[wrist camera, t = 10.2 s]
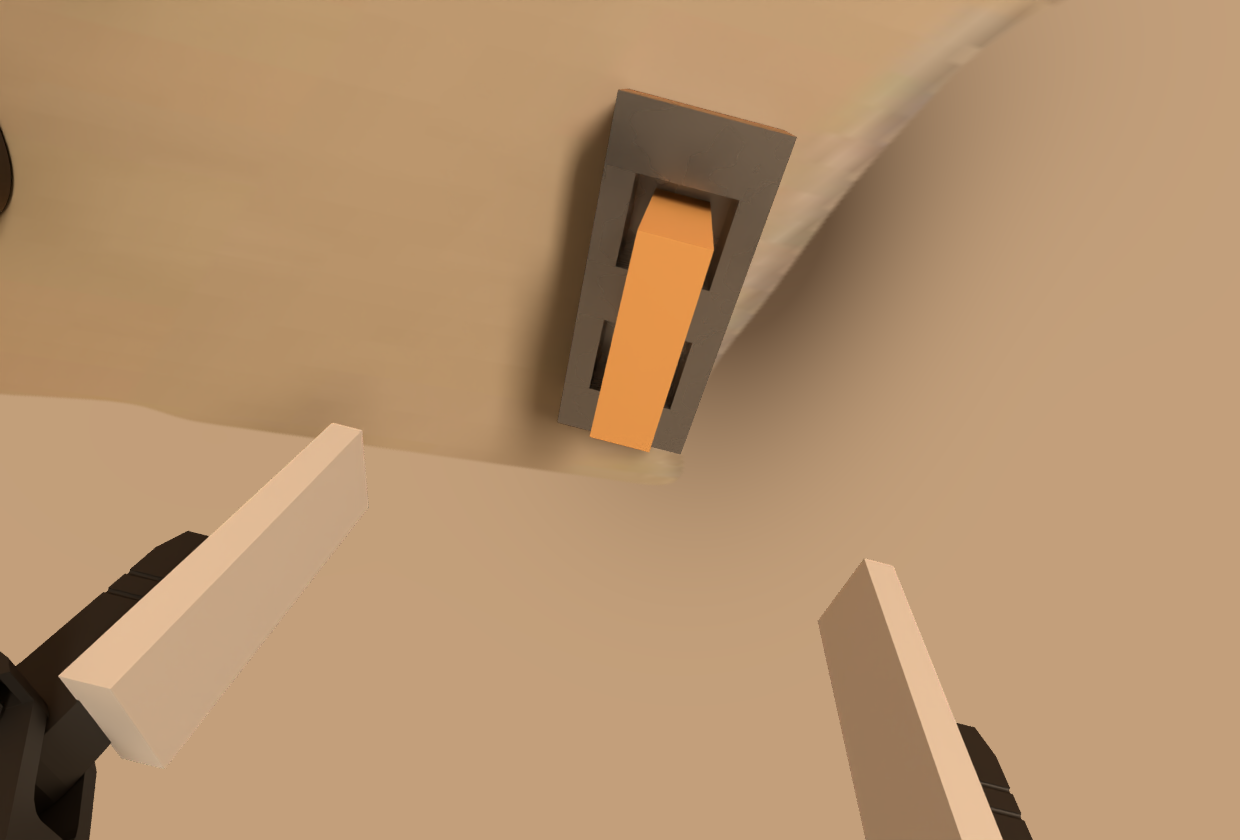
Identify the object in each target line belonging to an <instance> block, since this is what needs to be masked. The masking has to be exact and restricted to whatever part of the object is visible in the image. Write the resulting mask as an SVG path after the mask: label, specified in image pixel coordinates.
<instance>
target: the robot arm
mask: <svg viewBox="0 0 1240 840" xmlns="http://www.w3.org/2000/svg"><path fill="white" fill-rule="evenodd" d="M10 187H11V172H10V164H9V158H8V154H7V150H6V146H5V143H4V140H3V137H2V134H1V132H0V213H1V211H2V210H3V208H4V207H5V205H6V203H7V200H8V197H9V193H10ZM368 508H369V504H368V493H367V481H366V470H365V458H364V447H363V436H362V430H359V429H355V428H351V427H348V426H344V425H340V424H336V423H331V424H330V425H329V426H328V427H327V428H326V429H325V430H324V431H323V432H322V433H321V434H319V435H318V436H317V437H316V438H315V439H314V440H313V441H312V442H311V443H310V444H309V445H308V446H307V447H306V448H304V449H303V450H302V451H301V452H300V453H299V454H298V455H297V456H296V457H295V458H294V459H292V460H291V461H290V462H289V463H288V464H287V465H286V466H285V467H284V468H283V469H282V470H281V471H280V472H279V473H277V474H276V475H275V476H274V477H273V478H272V479H271V480H270V481H269V482H268V483H266V484H265V485H264V486H263V487H262V488H261V489H260V490H259V491H258V492H257V493H256V494H255V495H254V496H252V497H251V498H250V499H249V500H248V501H247V502H246V503H245V504H244V505H243V506H242V507H241V508H239V509H238V510H237V511H236V512H235V513H234V514H233V515H232V516H231V517H230V518H229V519H228V520H227V521H225V522H224V523H223V524H222V525H221V526H220V527H219V528H218V529H217V530H216V531H215V532H214V533H212V534H211V535H210V536H206V535H202V534H198V533H194V532H190V531H187V532H185V533H183V534H181V535H179V536H177V537H175V538H173V539H171V540H169V541H167V542H165V543H163V544H161V545H159V546H157V547H155V548H154V549H153V550H152V551H151V552H150V553H148V554H147V555H146V556H145V557H144V558H143V559H142V560H140V561H139V562H138V563H137V564H136V565H134V566H133V567H132V568H131V569H130V572H129V573H128V574H124V575H123V576H122V577H120V579H118V580H117V581H116V582H114V583H113V584H112V585H111V586H110V587H109V589H108V591H107V592H105V593H104V592H103V593H102V594H101V595H99V596H98V597H97V598H96V599H95V600H93V601H92V602H91V603H90V604H89V605H88V606H86V607H85V608H84V609H83V610H82V611H81V612H79V613H78V614H77V615H76V616H75V617H74V618H72V619H71V620H70V621H69V622H68V623H66V624H65V625H64V626H63V627H62V628H61V629H59V630H58V631H57V632H56V633H55V634H54V635H52V636H51V637H50V638H49V639H48V640H47V641H45V642H44V643H43V644H42V645H41V646H40V647H38V648H37V649H36V650H35V651H34V652H32V653H31V654H30V655H29V656H28V657H27V658H25V659H24V660H23V661H22V662H21V663H19V664H18V665H17V666H15V665H14V664H13V663H12V662H11V661H10V660H9V658H8V657H6V656H5V655H4V654H3V653H1V652H0V840H89V836H90V828H91V819H92V809H93V800H94V791H95V781H96V773H97V772H96V766H95V760H96V759H97V758H98V757H99V756H100V755H101V754H102V753H103V752H104V750H105V749H106V748H107V747H108V746H109V745H110V744H111V745H112V747H113V748H114V749H115V750H116V752H117V753H118V754H119V756H120V757H121V758H122V759H126V760H130V761H134V762H139V763H143V764H146V765H151V766H155V767H159V768H163V769H165V768H166V767H167V766H168V764H169V763H170V762H171V760H172V759H173V758H174V757H175V755H176V754H177V753H178V751H179V750H180V749H181V748H182V746H183V745H184V744H185V742H186V741H187V740H188V739H189V737H190V736H191V735H192V733H193V732H194V731H195V730H196V728H197V727H198V725H200V723H201V722H202V721H203V719H204V718H205V717H206V716H207V714H208V713H209V712H210V710H211V709H212V708H213V706H214V705H215V704H216V703H217V701H218V700H219V699H220V698H221V696H222V695H223V694H224V692H225V691H226V690H227V689H228V687H229V686H230V685H231V683H232V682H233V681H234V680H235V678H236V677H237V676H238V675H239V673H240V672H241V671H242V669H243V668H244V667H245V665H246V664H247V663H248V662H249V660H250V659H251V658H252V656H253V655H254V654H255V653H256V651H257V650H258V649H259V648H260V646H261V645H262V644H263V642H264V641H265V640H266V638H267V637H268V636H269V635H270V634H271V632H272V631H273V630H274V628H275V627H276V626H277V625H278V623H279V622H280V621H281V619H282V618H283V617H284V616H285V614H286V613H287V612H288V610H289V609H290V608H291V607H292V605H293V604H294V603H295V601H296V600H297V599H298V598H299V596H300V595H301V594H302V592H303V591H304V590H305V589H306V587H307V586H308V585H309V583H310V582H311V581H312V580H313V578H314V577H315V576H316V574H317V573H318V572H319V571H320V569H321V568H322V567H323V566H324V564H325V563H326V562H327V560H328V559H329V558H330V557H331V555H332V554H333V553H334V551H335V550H336V549H337V548H338V546H339V545H340V544H341V542H342V541H343V540H344V538H345V537H346V536H347V535H348V533H349V532H350V531H351V530H352V528H353V527H354V526H355V524H356V523H357V522H358V521H359V519H360V518H361V517H362V515H363V514H364V513H365V511H366V510H367V509H368ZM818 624H819V629H820V634H821V638H822V643H823V647H824V652H825V656H826V661H827V665H828V670H829V675H830V679H831V684H832V688H833V693H834V697H835V702H836V707H837V711H838V716H839V720H840V725H841V729H842V734H843V739H844V743H845V747H846V752H847V757H848V761H849V766H850V771H851V775H852V779H853V784H854V789H855V793H856V798H857V802H858V807H859V811H860V816H861V821H862V825H863V830H864V834H865V839H866V840H1033V839H1032V837H1031V835H1030V833H1029V830H1028V828H1027V826H1026V824H1025V821H1023V820H1022V819H1021V817H1020V816H1021V812H1020V810H1019V808H1018V806H1017V803H1016V801H1015V798H1014V796H1013V794H1010V792H1009V789H1010V787H1009V785H1008V783H1007V780H1006V778H1005V776H1004V773H1003V771H1002V769H1001V767H1000V765H999V762H998V760H997V758H996V756H995V755H994V753H993V752H992V750H991V749H990V748H989V746H988V745H987V744H986V742H985V741H984V740H983V738H982V737H981V735H980V734H979V733H978V731H977V730H976V729H975V727H971V726H967V725H963V724H958V723H956V722H955V719H954V717H953V714H952V711H951V709H950V707H949V704H948V701H947V699H946V696H945V694H944V691H943V689H942V686H941V684H940V681H939V679H938V676H937V674H936V671H935V669H934V667H933V664H932V661H931V659H930V656H929V654H928V652H927V649H926V647H925V644H924V642H923V639H922V636H921V634H920V632H919V629H918V627H917V624H916V621H915V619H914V617H913V614H912V611H911V609H910V607H909V604H908V602H907V599H906V597H905V594H904V592H903V589H902V587H901V584H900V582H899V579H898V577H897V574H896V572H895V569H894V567H893V566H892V565H888V564H884V563H881V562H876V561H873V560H869V559H863V561H862V562H861V563H860V565H859V566H858V568H857V569H856V570H855V572H854V573H853V574H852V576H851V577H850V578H849V580H848V581H847V583H846V584H845V585H844V586H843V588H842V589H841V591H840V592H839V593H838V595H837V596H836V597H835V599H834V600H833V601H832V603H831V604H830V605H829V607H828V608H827V609H826V611H825V612H824V614H823V615H822V616H821V617H820V619H819V620H818Z"/></svg>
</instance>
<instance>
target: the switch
mask: <svg viewBox="0 0 1240 840" xmlns="http://www.w3.org/2000/svg"><path fill="white" fill-rule="evenodd" d="M796 138H797V137H796V136H794V135H792V134H790V133H788V132H787V131H785V130H781V129H778V128H774V127H770V126H766V125H763V124H759V123H755V122H751V121H748V120H744V119H740V118H736V117H733V116H729V115H725V114H721V113H718V112H714V111H710V110H706V109H703V108H699V107H695V106H691V105H688V104H684V103H680V102H676V101H673V100H669V99H665V98H661V97H658V96H654V95H650V94H646V93H643V92H639V91H635V90H631V89H619V90H618V93H617V99H616V104H615V110H614V115H613V121H612V126H611V132H610V137H609V143H608V148H607V154H606V159H605V164H604V170H603V175H602V181H601V186H600V192H599V197H598V203H597V208H596V214H595V219H594V225H593V230H592V236H591V241H590V247H589V252H588V258H587V263H586V269H585V274H584V280H583V285H582V290H581V296H580V301H579V307H578V312H577V318H576V323H575V329H574V334H573V340H572V345H571V351H570V356H569V362H568V367H567V373H566V378H565V384H564V389H563V395H562V400H561V406H560V411H559V416H558V423H562V424H566V425H570V426H573V427H577V428H581V429H585V430H589V431H591V429H592V424H593V420H594V416H595V411H596V407H597V403H598V399H599V394H600V390H601V386H602V381H603V377H604V373H605V368H606V364H607V360H608V355H609V351H610V347H611V342H612V338H613V334H614V329H615V325H616V321H617V316H618V312H619V308H620V303H621V299H622V295H623V290H624V286H625V282H626V277H627V273H628V269H629V264H630V260H631V256H632V251H633V247H634V243H635V238H636V234H637V230H638V228H639V225H640V223H641V221H642V219H643V216H644V214H645V212H646V210H647V207H648V205H649V203H650V200H651V198H652V196H653V194H654V191H655V189H656V188H658V189H662V190H665V191H669V192H673V193H677V194H680V195H684V196H688V197H692V198H696V199H699V200H703V201H707V202H710V204H711V217H712V231H713V245H714V252H713V255H712V258H711V261H710V264H709V267H708V270H707V273H706V277H705V280H704V283H703V286H702V289H701V292H700V295H699V298H698V301H697V305H696V308H695V311H694V314H693V317H692V320H691V323H690V326H689V330H688V333H687V336H686V339H685V342H684V345H683V348H682V351H681V354H680V358H679V361H678V364H677V367H676V370H675V373H674V376H673V379H672V382H671V386H670V389H669V392H668V395H667V398H666V401H665V404H664V407H663V410H662V414H661V417H660V420H659V423H658V426H657V429H656V432H655V435H654V439H653V442H652V445H651V447H654V448H658V449H662V450H666V451H670V452H674V453H678V454H681V451H682V449H683V446H684V443H685V441H686V438H687V435H688V432H689V430H690V427H691V424H692V421H693V419H694V416H695V413H696V411H697V408H698V405H699V402H700V400H701V397H702V394H703V392H704V389H705V386H706V383H707V381H708V378H709V375H710V372H711V370H712V367H713V364H714V362H715V359H716V356H717V353H718V351H719V348H720V345H721V342H722V340H723V337H724V334H725V332H726V329H727V326H728V323H729V321H730V318H731V315H732V313H733V310H734V307H735V304H736V302H737V299H738V296H739V293H740V291H741V288H742V285H743V283H744V280H745V277H746V274H747V272H748V269H749V266H750V263H751V261H752V258H753V255H754V253H755V250H756V247H757V244H758V242H759V239H760V236H761V233H762V231H763V228H764V225H765V223H766V220H767V217H768V214H769V212H770V209H771V206H772V204H773V201H774V198H775V195H776V193H777V190H778V187H779V184H780V182H781V179H782V176H783V174H784V171H785V168H786V165H787V163H788V160H789V157H790V154H791V152H792V149H793V146H794V144H795V141H796Z"/></svg>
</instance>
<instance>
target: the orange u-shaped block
mask: <svg viewBox="0 0 1240 840" xmlns="http://www.w3.org/2000/svg"><path fill="white" fill-rule="evenodd" d="M713 252H714V245H713V231H712V217H711V204H710V202H707V201H703V200H699V199H696V198H692V197H688V196H684V195H680V194H677V193H673V192H669V191H665V190H662V189H658V188H656V189H655V191H654V194H653V196H652V198H651V200H650V203H649V205H648V207H647V210H646V212H645V214H644V216H643V219H642V221H641V223H640V225H639V228H638V230H637V234H636V238H635V243H634V247H633V251H632V256H631V260H630V264H629V269H628V273H627V277H626V282H625V286H624V290H623V295H622V299H621V303H620V308H619V312H618V316H617V321H616V325H615V329H614V334H613V338H612V342H611V347H610V351H609V355H608V360H607V364H606V368H605V373H604V377H603V381H602V386H601V390H600V394H599V399H598V403H597V407H596V411H595V416H594V420H593V424H592V429H591V433H590V437H592V438H596V439H600V440H604V441H608V442H612V443H616V444H619V445H623V446H627V447H631V448H635V449H639V450H643V451H646V452H649V451H650V448H651V445H652V442H653V439H654V435H655V432H656V429H657V426H658V423H659V420H660V417H661V414H662V410H663V407H664V404H665V401H666V398H667V395H668V392H669V389H670V386H671V382H672V379H673V376H674V373H675V370H676V367H677V364H678V361H679V358H680V354H681V351H682V348H683V345H684V342H685V339H686V336H687V333H688V330H689V326H690V323H691V320H692V317H693V314H694V311H695V308H696V305H697V301H698V298H699V295H700V292H701V289H702V286H703V283H704V280H705V277H706V273H707V270H708V267H709V264H710V261H711V258H712V255H713Z"/></svg>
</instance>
